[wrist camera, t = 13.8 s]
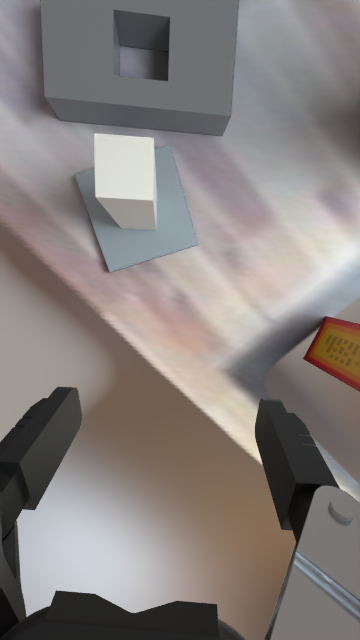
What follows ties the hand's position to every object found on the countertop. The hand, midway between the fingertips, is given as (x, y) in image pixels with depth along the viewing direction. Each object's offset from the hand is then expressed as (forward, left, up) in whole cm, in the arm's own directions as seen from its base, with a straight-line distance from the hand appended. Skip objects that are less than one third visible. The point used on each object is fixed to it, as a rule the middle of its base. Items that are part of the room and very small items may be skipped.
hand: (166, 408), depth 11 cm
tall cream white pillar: (-1, -13, -20) cm, 24 cm away
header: (-6, -26, -21) cm, 34 cm away
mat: (-1, -13, -21) cm, 25 cm away
